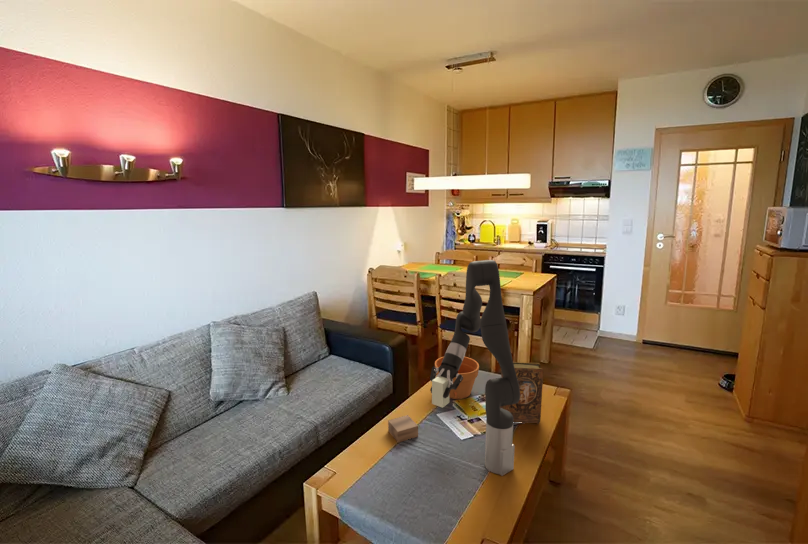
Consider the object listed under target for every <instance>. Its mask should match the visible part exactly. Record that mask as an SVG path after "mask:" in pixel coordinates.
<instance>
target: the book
mask: <svg viewBox="0 0 808 544" xmlns="http://www.w3.org/2000/svg"><path fill="white" fill-rule="evenodd" d="M513 364H514V368H515V372H516V375H517V379H518V383H519V388H520V400H519V402H518V403H516V404H512V405H505V406H500V408H502V409H505V410H507V411H509V412H510V413H511V414H512V415H513V418H514V421H513V422H522V423H521V424H525V423H537V424H536V425H539V424H541V419H542V417H541V415H542V399H543V383H544V369H543V368H542V367H541V364H540V363H539V362H516V361H515V362H514V361H513ZM500 372H501V374H500V378H503V374H502V370H501V371H500Z"/></svg>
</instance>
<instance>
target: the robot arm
mask: <svg viewBox="0 0 808 544" xmlns="http://www.w3.org/2000/svg"><path fill="white" fill-rule="evenodd" d="M466 267H467V268H466V272H465V273H466V277H465V278H466V279H465V299H464V303H463V307H462V311H460V312H458V314H457V315H456V319H455V329H454V333H453V336H452V338H451V341H450V343H449V345H448V347H447V349H446V351H445V353H444V356H443V357H444V358H443V360H442V363H441V366H440V367H439V368H435V365H434V366H432V367H431V371H430V376H429V381H430V382H432V380H433V379H435V378H436V377H440V376H441V377H445V378H447V380H448V384H447V388H446V389H445V392H444V394H443V397H444V398H447V397H448V396H449V393H450V391H451V390H452V389H454V390H456V389H457V387H458V386H459V384H460V383H461V381H462V380H463V376H462V375H461V374H458V370H459V368H460V366H461V363H462V361H463V359H464V357H466V352H467V349H468V346H469V345H470V342H471V337H470V336H469V335H468V334H467V333H465V332H464V331H463V330H465V331H468V332H471V333H476V332H478V331H479V330H480V333H481V340H482V342H483V344H484V345H485V347H486V349H487V350H488V351H489V352H490V353H491V355H492V356H493V357H494V359H495V360H496V362H497V363H498V364H499V367H500V369H501V370H502V374H503V378H501V377H497V378H491V379H488V380H487V381H486V382H485V387H484V388H485V389H484V394H485V395H484V396H485V397H484V398H485V400H484V401H485V403H484V404H485V407H484V408H485V414H486V418H485V422H486V424H485V443H484V444H485V445H484V449H485V450H484V467H485V468H486V469H487V470H488V472H491V473H493V474H497V475H500V476H501V477H503V476H505V475H506V474H508V473H510V472H511V471H513V470H514V465H515V464H514V463H515V450H516V449H515V447H516V446H515V444H514V443H513V437H514V423H513V421H514V418H513V415H512V414H511V413H510V412H509V411H507V410H505V409H502V408H500V406H505V405H512V404H516V403H518V402H519V400H520V388H519V383H518V379H517V375H516V372H515V368H514V364H513V362H514V361H513V356H512V355H513V354H512V349H511V344H510V338H509V330H508V324H507V321H506V316H505V311H504V306H503V305H504V304H503V298H502V288H501V286H502V285H501V280H500V279H501V277H500V270H499V269H500V268H499V266H498V263H497V262H496V260H494V259H485V260H475V261H471V262H469V263H468V265H467V266H466ZM483 286H489V297H488V301H487V303H486V306H485V308H484V310H483V312H482V315H481V310H482V306H483V299H482V296H481V295H480V293H479V292H478V291H477V289H476V287H483ZM438 371H439V374H438V375H437V374H436V373H437V372H438ZM456 376H457V377H456ZM455 377H456V380H455V381H454V383H453V378H455ZM429 392H430V394H432V386H431V387H430V390H429Z"/></svg>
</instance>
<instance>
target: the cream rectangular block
mask: <svg viewBox="0 0 808 544" xmlns="http://www.w3.org/2000/svg"><path fill="white" fill-rule="evenodd" d="M447 384H448V380H447V378H445V377H441V376H440V377H436V378H435V379H433V380H432V381H431V387H432V393H431V405H434V406H437V407H440V408H445V406H447V405H448V404H449V403H450V398H449V396H448V397H447V398H444V397H443V394H444V392H445V389H446V388H447Z"/></svg>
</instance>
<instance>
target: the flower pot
mask: <svg viewBox="0 0 808 544" xmlns="http://www.w3.org/2000/svg"><path fill="white" fill-rule="evenodd" d="M443 358H444V356H441V357H439V358H437V359H436V360H435V361H434V367H435V368H439V367H440V366H441V363H442V360H443ZM479 369H480V364H479V362H477V361H476V360H475V359H473V358H471V357H468V356H464V359H463V361H462V363H461V366H460V368H459V370H458V374H461V375H462V376H463V380H462V381H461V383H460V384H459V386H458V387H457V389H456V390H454V389H452V390H451V391H450V393H449V399H455V400H462V398H463V399H466V398H469V396H471V394H472V391H473V387H474V385H475V382H476V378H478V376H479V371H480V370H479ZM438 374H439V371H438V372H437V373H436V376H437V375H438ZM456 377H457V376H456ZM456 377H455V378H453V383H454V381H455V380H456Z"/></svg>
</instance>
